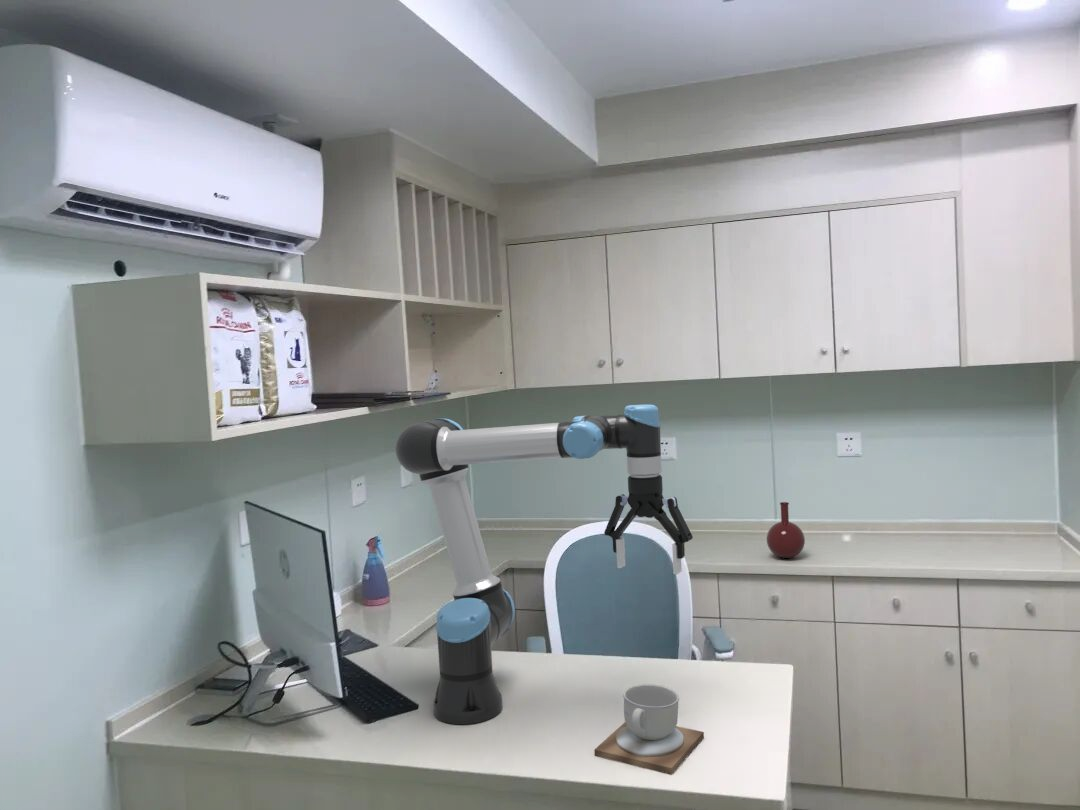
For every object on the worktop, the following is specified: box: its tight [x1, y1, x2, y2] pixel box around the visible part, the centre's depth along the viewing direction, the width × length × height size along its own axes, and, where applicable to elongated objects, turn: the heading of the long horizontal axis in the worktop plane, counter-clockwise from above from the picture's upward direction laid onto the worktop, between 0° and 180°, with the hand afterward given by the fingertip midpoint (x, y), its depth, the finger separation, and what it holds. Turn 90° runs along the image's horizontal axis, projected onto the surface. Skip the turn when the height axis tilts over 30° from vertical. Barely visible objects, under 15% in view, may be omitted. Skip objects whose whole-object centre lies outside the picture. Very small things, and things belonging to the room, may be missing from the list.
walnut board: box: [593, 721, 705, 775], centre depth 162 cm, size 16×16×2 cm
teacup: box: [623, 683, 680, 740], centre depth 162 cm, size 14×11×8 cm
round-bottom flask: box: [766, 501, 806, 559], centre depth 298 cm, size 13×13×20 cm
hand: (649, 570), depth 184 cm, fingers open, 13 cm apart
